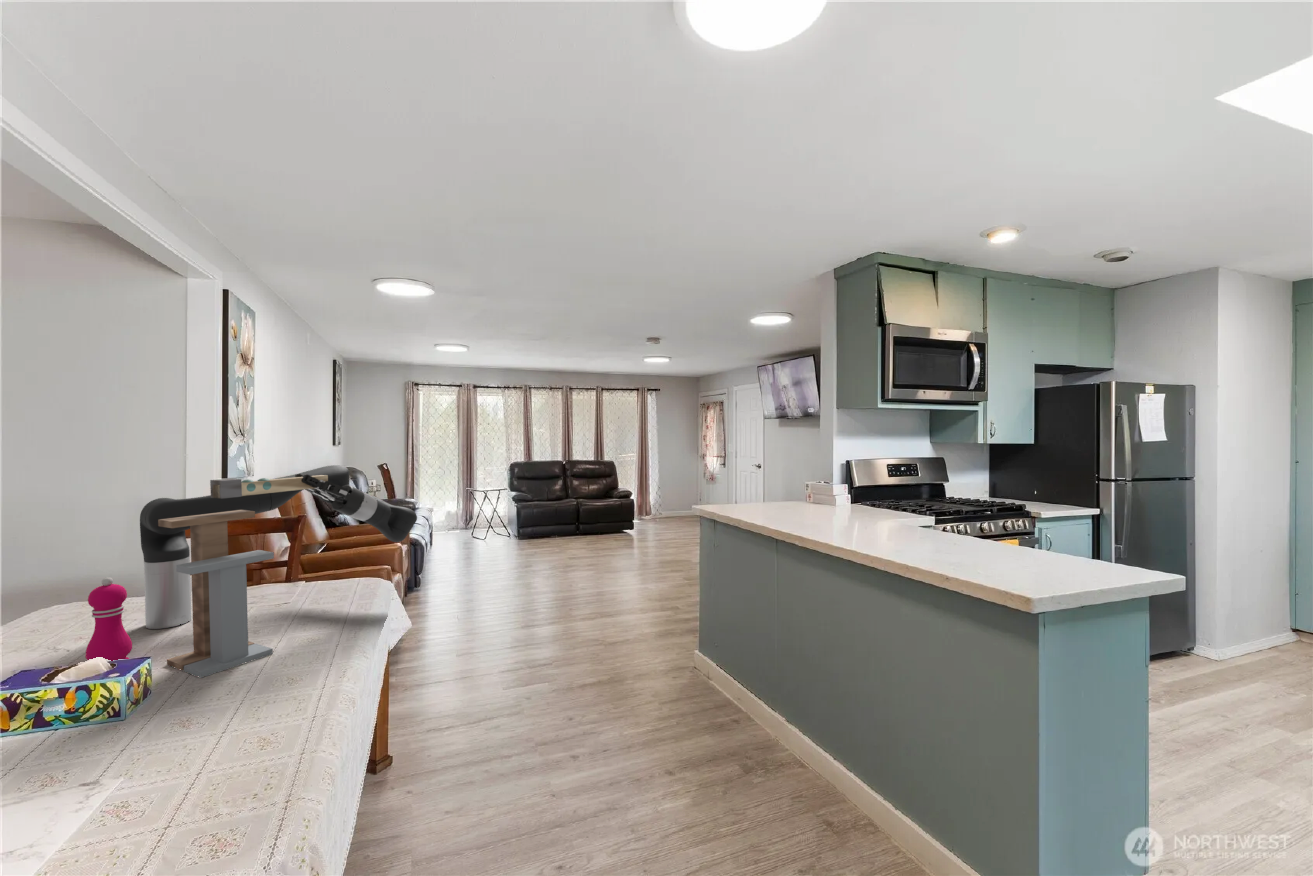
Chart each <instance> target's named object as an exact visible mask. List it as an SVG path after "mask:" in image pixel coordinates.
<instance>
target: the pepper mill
mask: <svg viewBox="0 0 1313 876" xmlns="http://www.w3.org/2000/svg"><path fill="white" fill-rule="evenodd" d="M87 597H88V598H87V603H88V605H89V606H91V608H93V609H92V610H91V613H92V614H91V618H94V630H93V634H92V635H91V638H90V640H89V641H88V644H87V646H86V650H85V660H86V661H88V660H89V659H93V658H96V657H103V658H105V659H108V660H111V661H113V660H118V659H130V660H131V658H130V657H129V656H128V655H129V654H130V653H131V652H132V650H133V641H132V638H131V637H130V636H129V634H128V632H127V631H126V630H125V627H124V625H123V619H122V616H123V613H124V612H125V609H124V608H125V605H124V604H123V603H124V602H125V601H126V599H127V597H128V592H127V589H126V588H125V587H124V586H123V585H120V584H117V583H114V579H113V578H112V577H105V578H103V579H102V580H101V585H100V586H99V585H98V587H95V588H94V589H92V590H91V592H90V593H89V595H88V596H87Z"/></svg>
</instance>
